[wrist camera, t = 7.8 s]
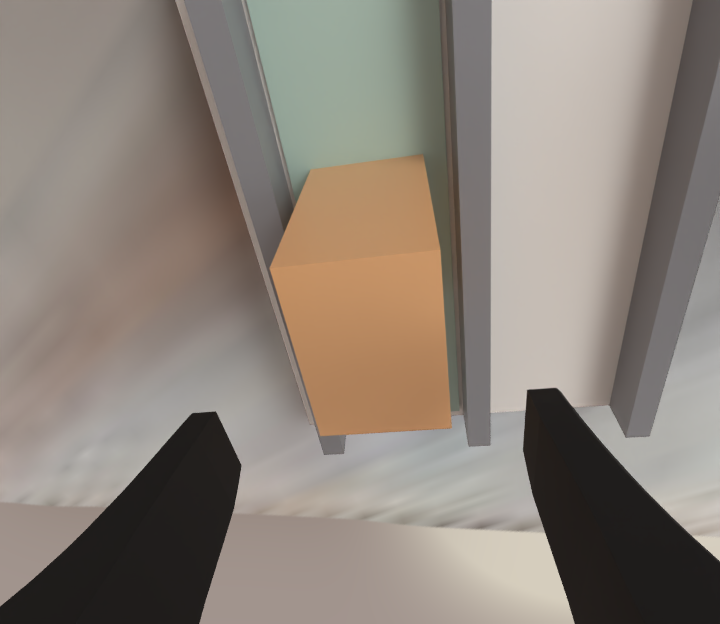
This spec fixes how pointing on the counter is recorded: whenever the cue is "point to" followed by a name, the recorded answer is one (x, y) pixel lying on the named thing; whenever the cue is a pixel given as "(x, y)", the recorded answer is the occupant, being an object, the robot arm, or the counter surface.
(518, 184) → the slot rack
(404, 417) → the orange block
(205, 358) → the counter surface
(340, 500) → the counter surface
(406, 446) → the counter surface
